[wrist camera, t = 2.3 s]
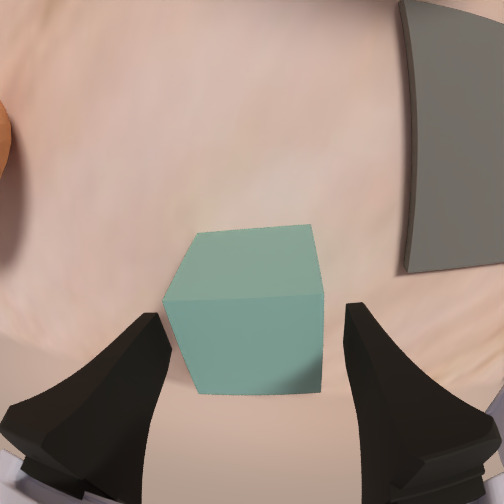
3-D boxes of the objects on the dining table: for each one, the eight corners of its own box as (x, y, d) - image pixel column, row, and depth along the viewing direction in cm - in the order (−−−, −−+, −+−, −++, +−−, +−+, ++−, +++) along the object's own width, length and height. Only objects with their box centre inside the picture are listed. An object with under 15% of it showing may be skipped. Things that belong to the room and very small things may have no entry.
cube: (313, 313, 16) (320, 392, 11) (217, 317, 16) (198, 393, 12) (310, 223, 13) (324, 293, 9) (197, 232, 14) (162, 300, 10)
